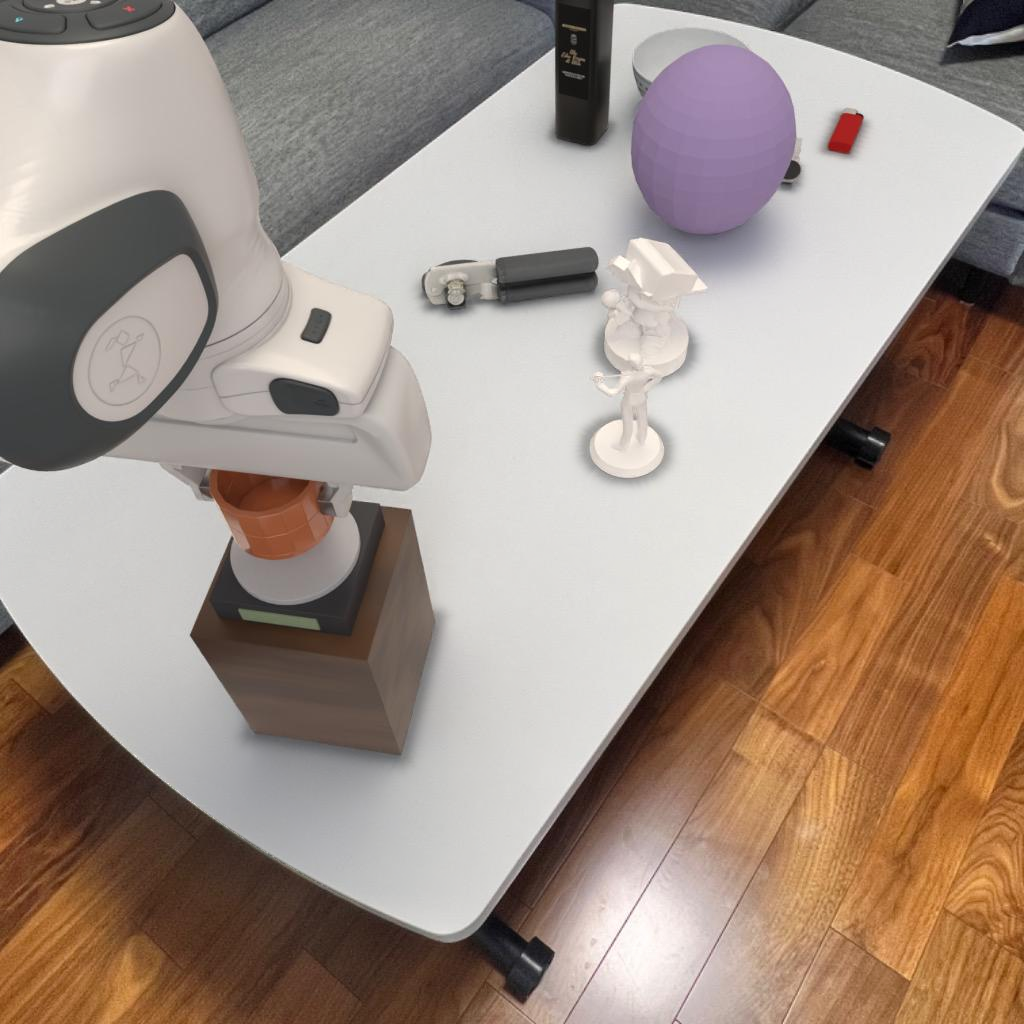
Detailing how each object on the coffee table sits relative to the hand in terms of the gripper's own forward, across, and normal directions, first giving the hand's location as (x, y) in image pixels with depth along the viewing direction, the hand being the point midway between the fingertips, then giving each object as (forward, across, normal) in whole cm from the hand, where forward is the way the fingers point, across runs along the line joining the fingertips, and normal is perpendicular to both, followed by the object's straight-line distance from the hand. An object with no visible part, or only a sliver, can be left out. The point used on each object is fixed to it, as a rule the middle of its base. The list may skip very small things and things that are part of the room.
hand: (276, 500), depth 57 cm
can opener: (+24, +5, +48) cm, 54 cm away
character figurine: (+24, +21, +41) cm, 52 cm away
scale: (+8, 0, 0) cm, 8 cm away
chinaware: (+24, +22, +84) cm, 90 cm away
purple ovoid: (+24, +25, +62) cm, 71 cm away
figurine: (+24, +20, +27) cm, 41 cm away
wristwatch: (+24, +35, +72) cm, 84 cm away
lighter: (+24, +42, +82) cm, 95 cm away
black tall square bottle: (+24, +9, +79) cm, 83 cm away
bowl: (+2, 0, 0) cm, 2 cm away
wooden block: (+24, 0, 0) cm, 24 cm away
